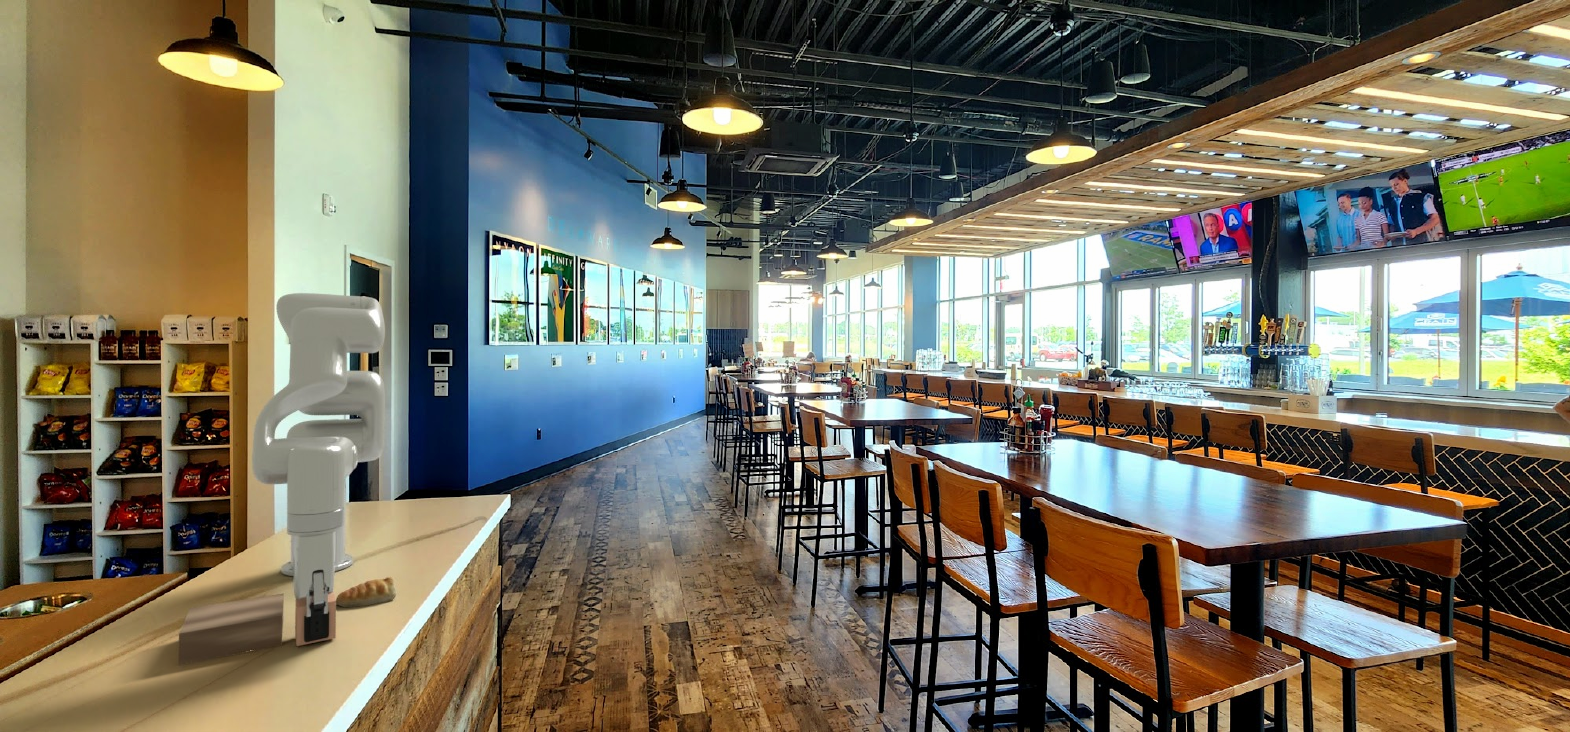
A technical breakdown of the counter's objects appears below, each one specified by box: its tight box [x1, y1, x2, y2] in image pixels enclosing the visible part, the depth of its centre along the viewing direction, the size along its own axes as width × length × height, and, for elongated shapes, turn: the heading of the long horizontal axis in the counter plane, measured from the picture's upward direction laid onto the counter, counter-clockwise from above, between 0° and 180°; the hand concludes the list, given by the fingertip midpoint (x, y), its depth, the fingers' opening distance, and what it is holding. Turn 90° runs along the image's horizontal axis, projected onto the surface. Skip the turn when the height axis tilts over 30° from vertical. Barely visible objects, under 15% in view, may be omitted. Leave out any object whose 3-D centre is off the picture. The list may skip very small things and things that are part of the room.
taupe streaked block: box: [178, 593, 285, 666], centre depth 105 cm, size 12×12×5 cm
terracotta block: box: [294, 591, 337, 647], centre depth 106 cm, size 5×5×6 cm
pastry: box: [335, 576, 397, 608], centre depth 123 cm, size 9×7×4 cm
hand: (315, 632), depth 106 cm, fingers closed on terracotta block, 4 cm apart
